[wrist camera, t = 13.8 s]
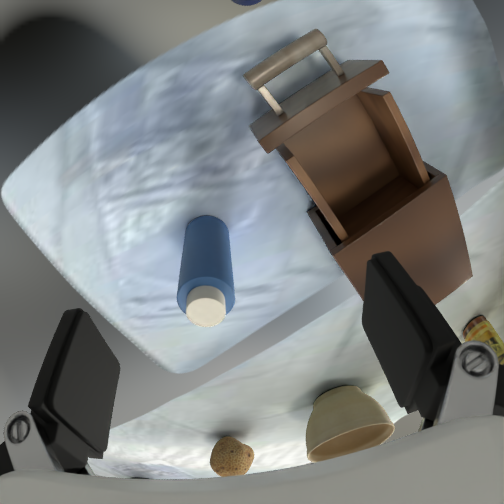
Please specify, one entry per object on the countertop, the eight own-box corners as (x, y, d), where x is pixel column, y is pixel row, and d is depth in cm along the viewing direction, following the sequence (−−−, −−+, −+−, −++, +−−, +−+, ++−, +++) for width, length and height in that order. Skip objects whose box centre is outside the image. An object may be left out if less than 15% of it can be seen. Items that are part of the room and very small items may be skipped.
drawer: (218, 89, 25) (219, 94, 19) (322, 22, 22) (351, 11, 17) (324, 227, 34) (346, 263, 28) (407, 169, 31) (443, 194, 25)
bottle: (176, 233, 33) (162, 310, 23) (209, 206, 32) (208, 278, 22) (204, 260, 35) (203, 342, 25) (237, 237, 34) (248, 315, 24)
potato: (254, 428, 58) (260, 470, 50) (247, 444, 62) (252, 482, 54) (209, 428, 56) (212, 472, 48) (207, 444, 61) (209, 483, 52)
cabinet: (306, 212, 33) (332, 256, 26) (399, 147, 30) (446, 174, 23) (361, 291, 40) (387, 337, 33) (436, 238, 37) (472, 276, 30)
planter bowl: (291, 423, 58) (300, 468, 49) (303, 380, 50) (317, 436, 41) (362, 411, 60) (377, 452, 51) (387, 367, 52) (409, 415, 42)
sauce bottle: (477, 310, 48) (532, 388, 31) (488, 317, 50) (538, 389, 33) (455, 335, 50) (503, 415, 34) (467, 340, 52) (512, 413, 36)
